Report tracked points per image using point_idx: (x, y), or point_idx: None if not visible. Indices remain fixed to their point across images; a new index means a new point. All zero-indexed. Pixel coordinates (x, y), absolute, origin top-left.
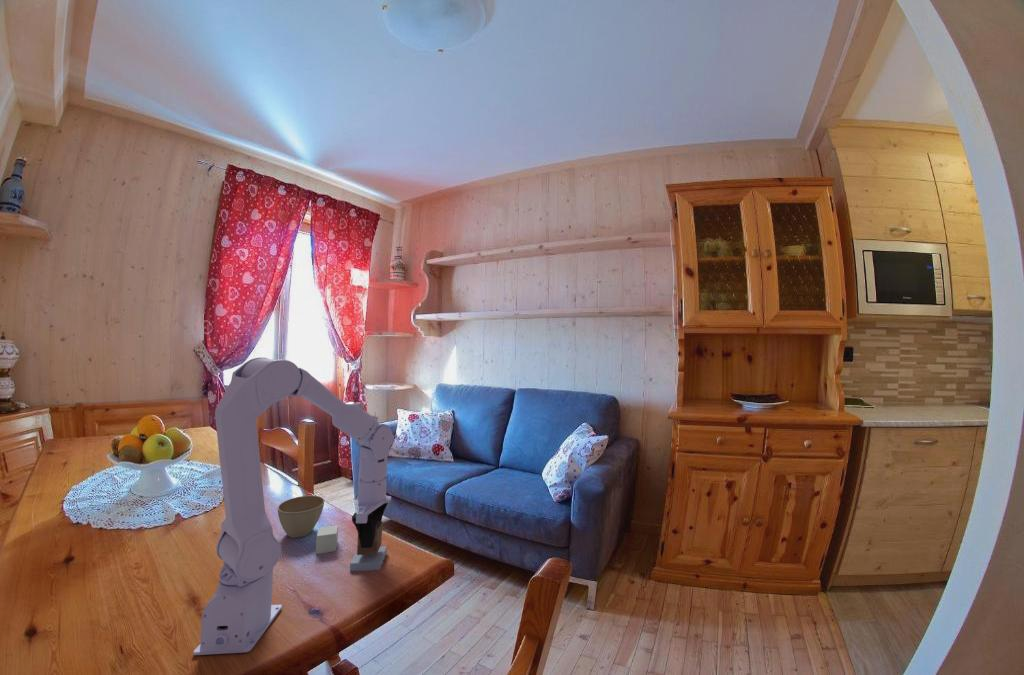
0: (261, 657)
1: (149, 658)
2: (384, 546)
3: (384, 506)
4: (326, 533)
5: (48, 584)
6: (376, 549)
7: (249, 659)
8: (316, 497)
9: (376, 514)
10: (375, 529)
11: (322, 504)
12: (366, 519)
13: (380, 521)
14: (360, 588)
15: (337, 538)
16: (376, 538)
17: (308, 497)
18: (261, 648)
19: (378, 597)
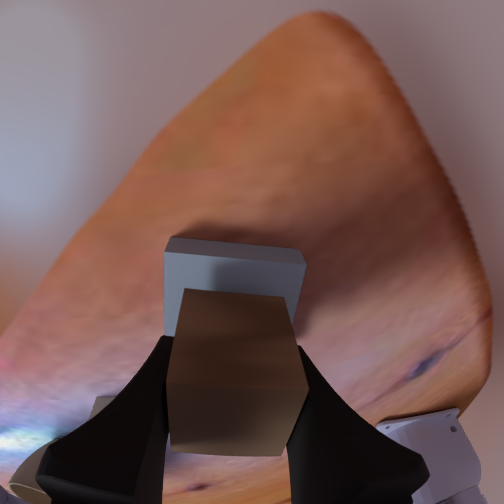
0: (474, 388)
1: None
2: (165, 262)
3: (140, 478)
4: None
5: None
6: (286, 312)
7: (468, 399)
8: (11, 486)
9: (356, 501)
10: (328, 409)
11: (41, 491)
12: (483, 500)
13: (167, 391)
14: (387, 295)
15: (97, 406)
16: (299, 356)
17: (19, 493)
18: (458, 397)
19: (447, 233)
